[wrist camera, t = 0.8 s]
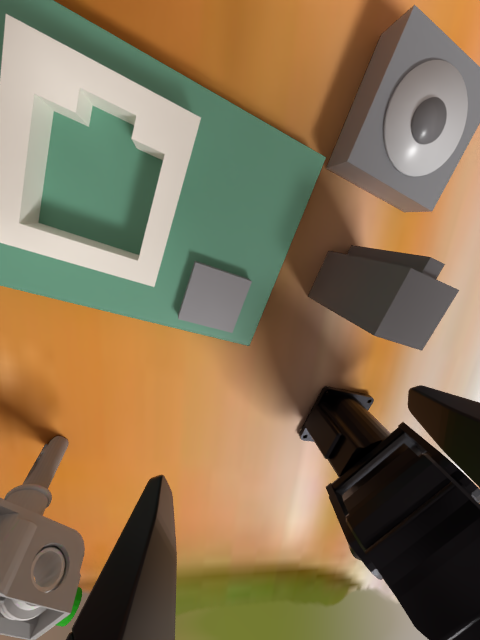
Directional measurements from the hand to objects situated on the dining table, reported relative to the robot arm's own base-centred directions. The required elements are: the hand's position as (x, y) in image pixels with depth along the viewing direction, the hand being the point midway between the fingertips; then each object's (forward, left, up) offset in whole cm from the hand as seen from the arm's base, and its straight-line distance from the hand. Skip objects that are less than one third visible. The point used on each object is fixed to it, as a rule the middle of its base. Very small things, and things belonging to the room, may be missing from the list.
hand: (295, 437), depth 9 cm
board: (+8, -5, -13) cm, 16 cm away
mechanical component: (+10, +15, -13) cm, 22 cm away
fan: (-7, -16, -13) cm, 22 cm away
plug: (-8, -5, -13) cm, 16 cm away
